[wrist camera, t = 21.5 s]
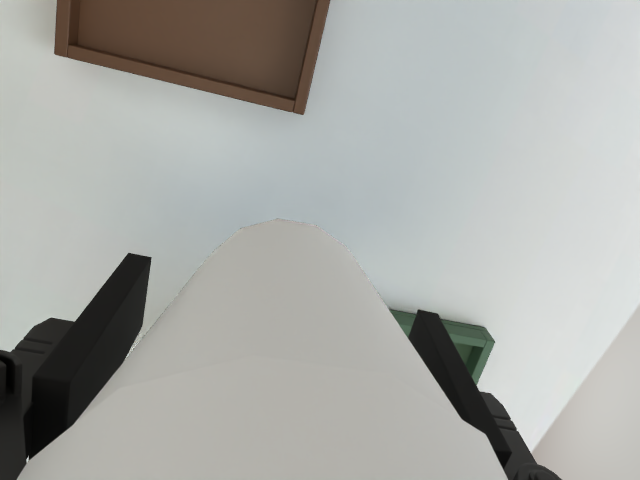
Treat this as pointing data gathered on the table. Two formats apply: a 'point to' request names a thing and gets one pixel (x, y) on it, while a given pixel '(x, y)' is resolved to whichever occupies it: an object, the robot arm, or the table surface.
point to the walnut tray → (202, 43)
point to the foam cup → (272, 381)
